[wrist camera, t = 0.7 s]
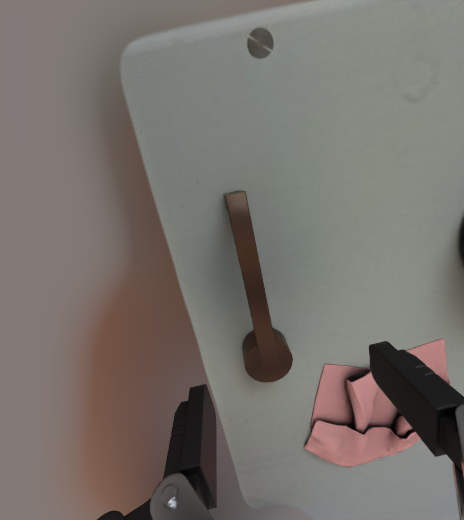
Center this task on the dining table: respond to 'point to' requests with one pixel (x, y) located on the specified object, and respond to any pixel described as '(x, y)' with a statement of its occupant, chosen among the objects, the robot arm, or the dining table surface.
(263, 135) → the dining table surface
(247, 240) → the ladle
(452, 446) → the robot arm
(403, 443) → the cloth
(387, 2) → the dining table surface
